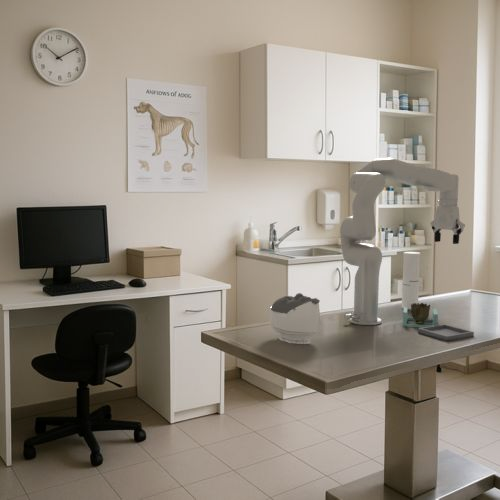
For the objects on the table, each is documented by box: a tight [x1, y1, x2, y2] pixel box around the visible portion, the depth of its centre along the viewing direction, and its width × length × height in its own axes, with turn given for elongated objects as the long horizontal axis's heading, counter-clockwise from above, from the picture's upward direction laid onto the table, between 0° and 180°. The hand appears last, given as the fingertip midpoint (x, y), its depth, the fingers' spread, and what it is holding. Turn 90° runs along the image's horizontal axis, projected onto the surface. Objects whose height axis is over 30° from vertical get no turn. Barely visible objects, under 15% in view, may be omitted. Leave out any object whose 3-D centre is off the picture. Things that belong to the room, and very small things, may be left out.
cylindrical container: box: [401, 251, 421, 310], centre depth 274 cm, size 7×7×25 cm
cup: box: [410, 302, 431, 325], centre depth 244 cm, size 8×7×8 cm
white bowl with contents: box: [269, 292, 321, 345], centre depth 217 cm, size 13×17×20 cm
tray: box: [417, 323, 475, 342], centre depth 228 cm, size 14×14×2 cm
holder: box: [402, 307, 439, 328], centre depth 244 cm, size 12×13×6 cm
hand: (446, 242), depth 264 cm, fingers open, 9 cm apart
